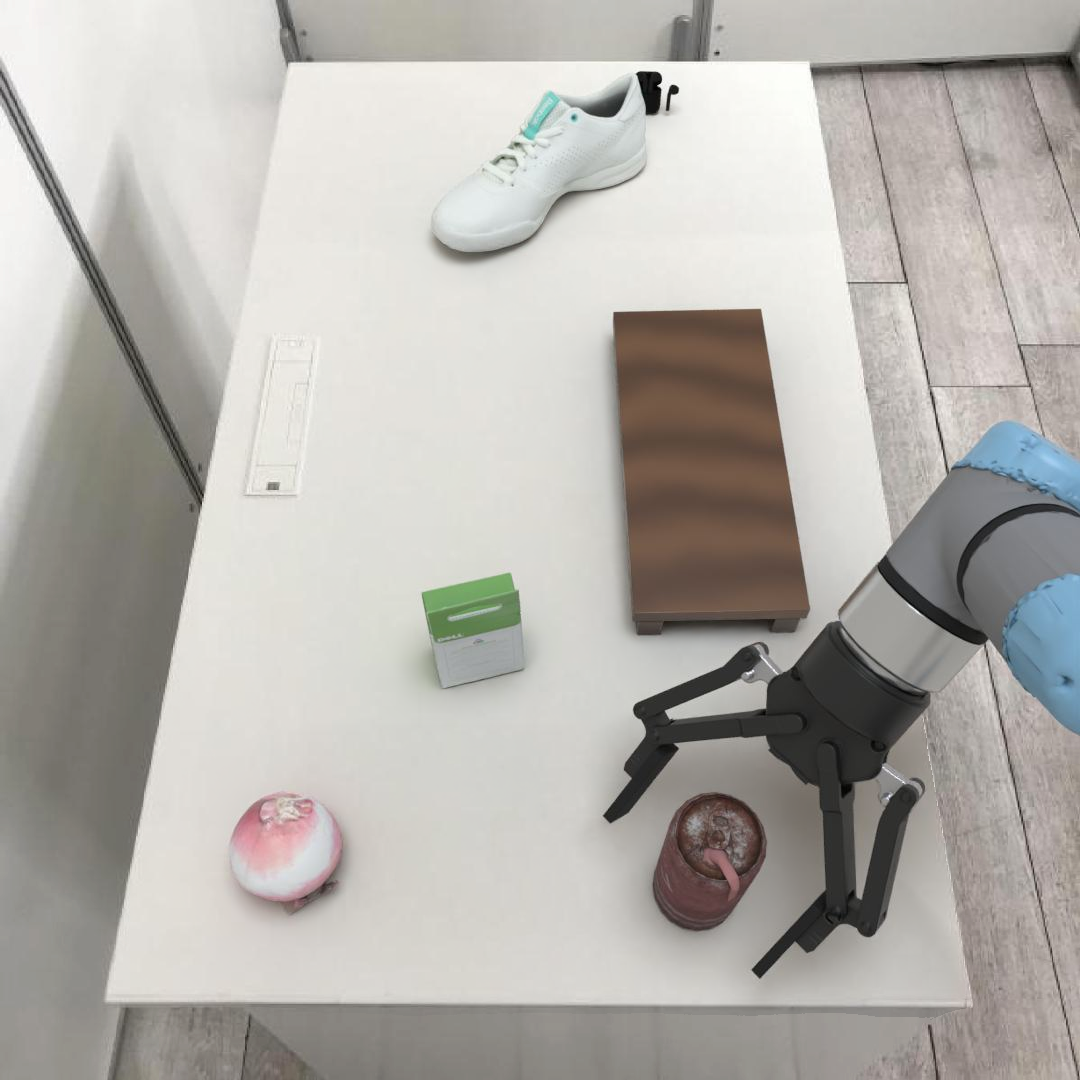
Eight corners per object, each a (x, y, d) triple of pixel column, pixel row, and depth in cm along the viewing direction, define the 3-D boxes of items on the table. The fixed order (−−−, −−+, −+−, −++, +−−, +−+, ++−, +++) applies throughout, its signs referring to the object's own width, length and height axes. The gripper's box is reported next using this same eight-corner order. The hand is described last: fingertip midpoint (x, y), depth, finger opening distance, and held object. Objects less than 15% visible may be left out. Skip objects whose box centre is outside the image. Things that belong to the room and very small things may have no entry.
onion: (361, 818, 80) (344, 788, 74) (334, 923, 76) (314, 901, 70) (259, 801, 81) (234, 770, 75) (227, 905, 77) (198, 881, 71)
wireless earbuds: (614, 115, 121) (616, 76, 117) (615, 101, 123) (617, 61, 118) (676, 116, 121) (680, 77, 117) (676, 102, 122) (680, 63, 118)
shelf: (800, 632, 88) (810, 610, 84) (630, 635, 88) (633, 613, 84) (754, 336, 104) (761, 308, 101) (611, 339, 104) (613, 311, 101)
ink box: (514, 627, 88) (508, 545, 77) (526, 670, 86) (521, 592, 75) (432, 646, 88) (413, 566, 76) (441, 690, 86) (423, 614, 74)
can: (678, 950, 75) (701, 908, 63) (637, 867, 78) (652, 811, 66) (753, 913, 76) (790, 865, 64) (710, 833, 79) (738, 772, 67)
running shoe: (410, 227, 113) (395, 133, 102) (602, 122, 121) (606, 26, 111) (466, 281, 108) (457, 189, 98) (661, 168, 117) (671, 73, 107)
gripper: (1070, 788, 63) (848, 1010, 70) (750, 524, 72) (585, 746, 80) (1055, 824, 56) (812, 1064, 64) (706, 529, 66) (532, 769, 74)
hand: (686, 888), depth 72 cm, fingers open, 13 cm apart
